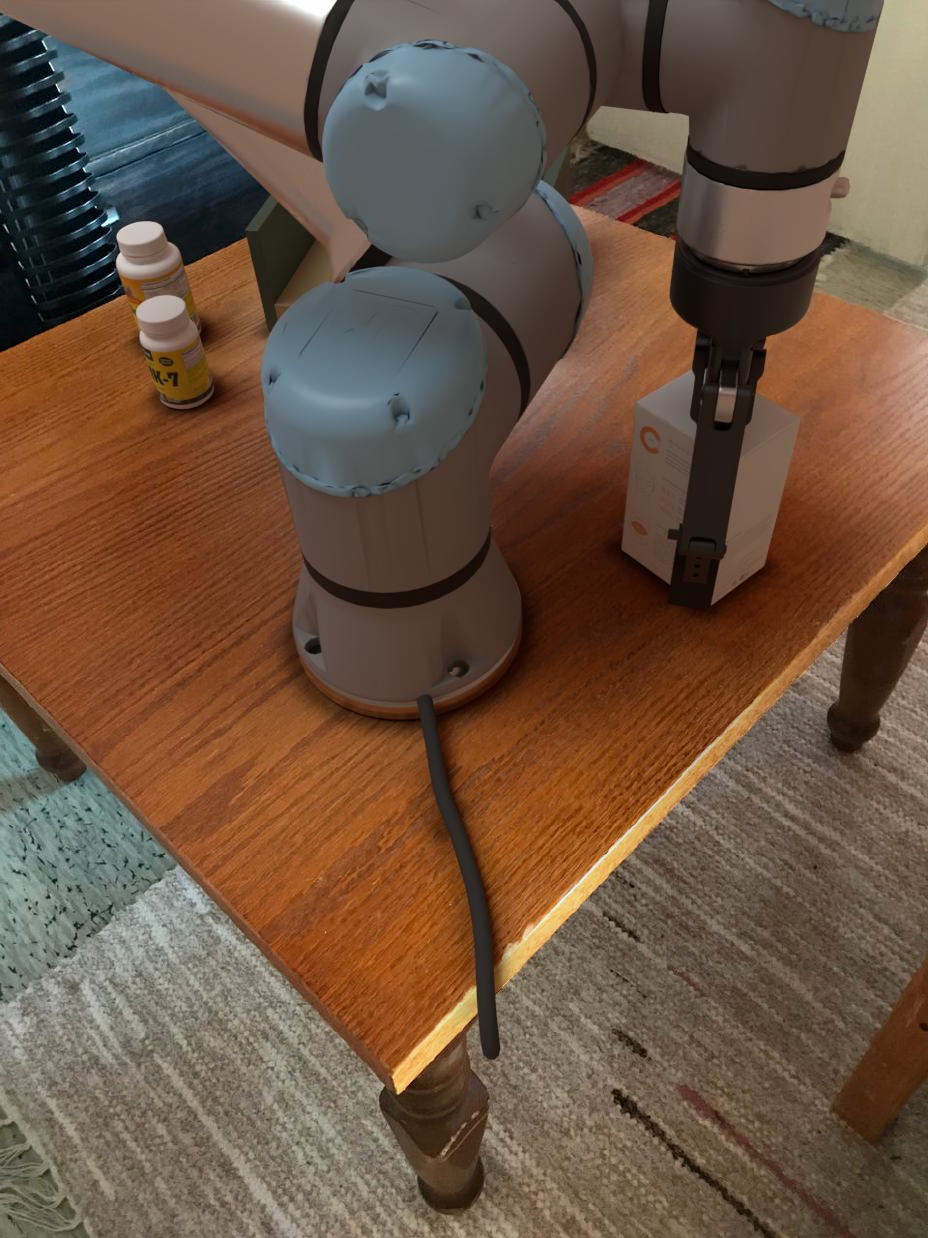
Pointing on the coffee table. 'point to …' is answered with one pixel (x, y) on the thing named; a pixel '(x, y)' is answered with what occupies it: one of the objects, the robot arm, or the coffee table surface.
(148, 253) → the supplement bottle
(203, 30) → the robot arm
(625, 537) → the small box
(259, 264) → the green open tray
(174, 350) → the supplement bottle
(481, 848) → the coffee table surface
